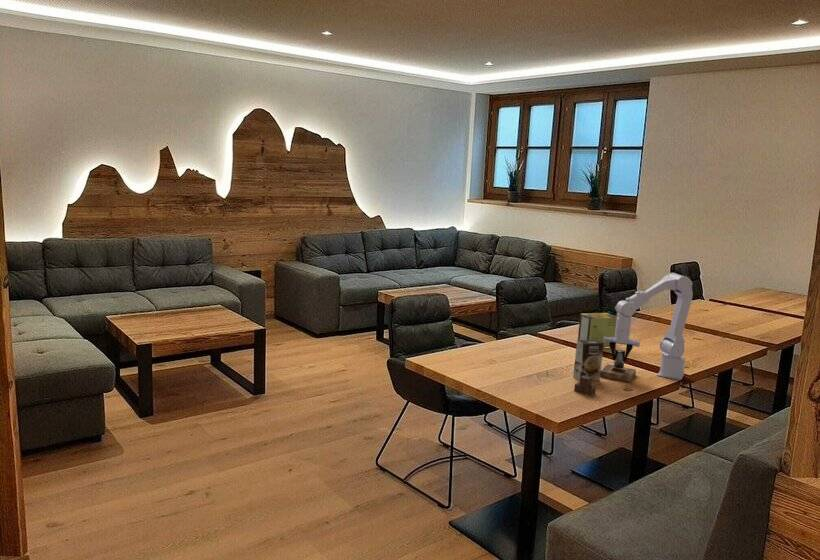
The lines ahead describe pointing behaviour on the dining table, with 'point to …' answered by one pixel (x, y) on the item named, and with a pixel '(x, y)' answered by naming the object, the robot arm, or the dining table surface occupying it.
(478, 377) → the dining table surface
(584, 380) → the stack of crates
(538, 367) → the dining table surface
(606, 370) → the socket block
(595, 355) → the coffee box
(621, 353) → the pin
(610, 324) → the protein box
